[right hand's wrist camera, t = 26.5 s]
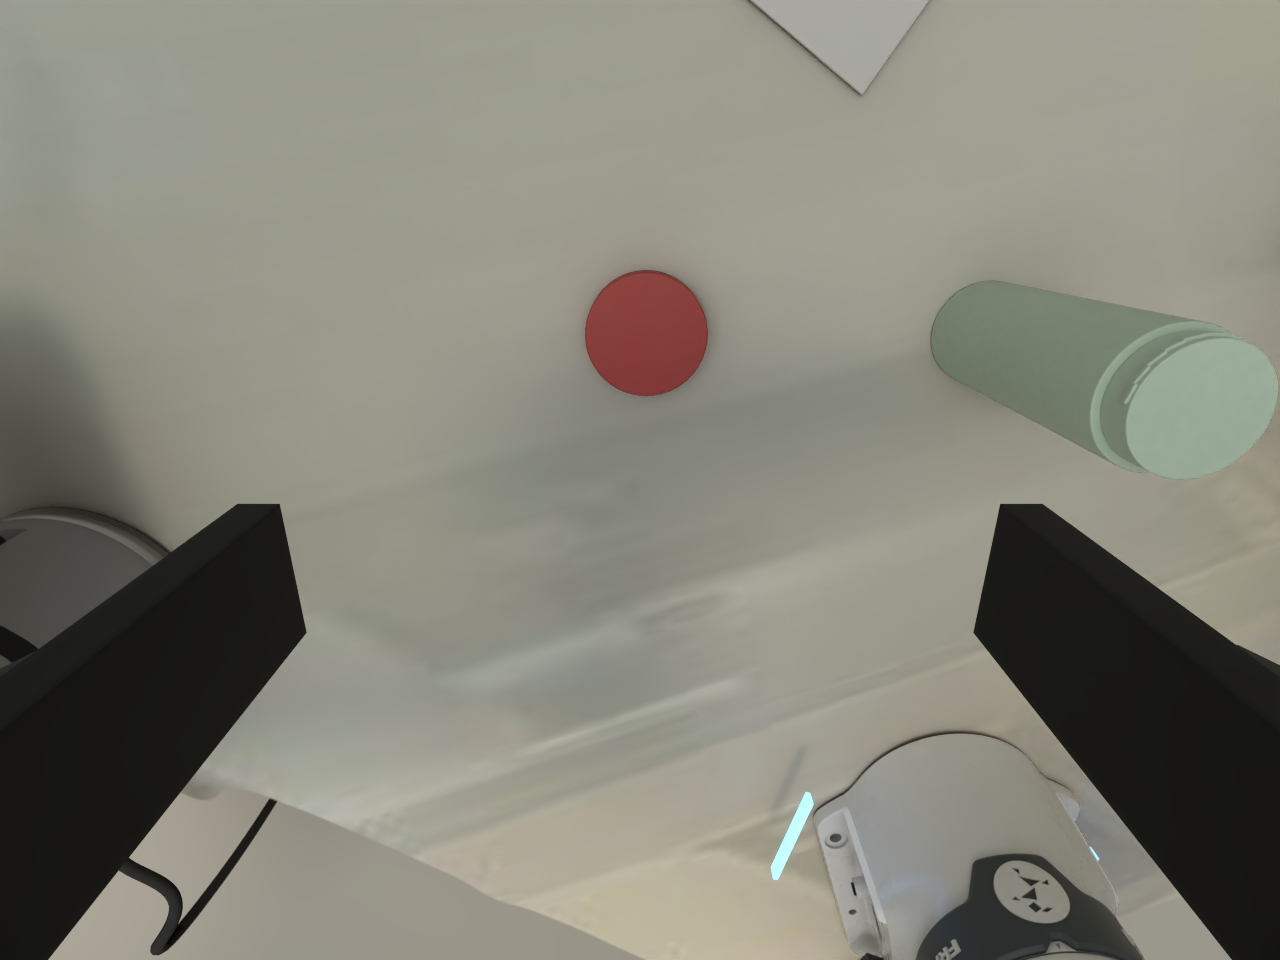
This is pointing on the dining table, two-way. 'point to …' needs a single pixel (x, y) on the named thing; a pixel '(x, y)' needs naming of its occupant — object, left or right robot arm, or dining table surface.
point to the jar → (1111, 376)
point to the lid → (646, 333)
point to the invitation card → (846, 31)
